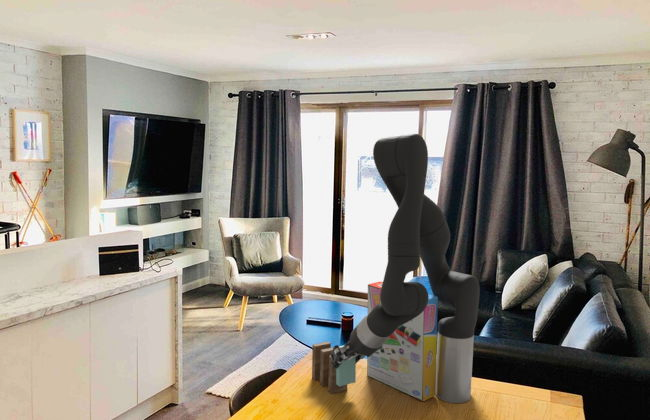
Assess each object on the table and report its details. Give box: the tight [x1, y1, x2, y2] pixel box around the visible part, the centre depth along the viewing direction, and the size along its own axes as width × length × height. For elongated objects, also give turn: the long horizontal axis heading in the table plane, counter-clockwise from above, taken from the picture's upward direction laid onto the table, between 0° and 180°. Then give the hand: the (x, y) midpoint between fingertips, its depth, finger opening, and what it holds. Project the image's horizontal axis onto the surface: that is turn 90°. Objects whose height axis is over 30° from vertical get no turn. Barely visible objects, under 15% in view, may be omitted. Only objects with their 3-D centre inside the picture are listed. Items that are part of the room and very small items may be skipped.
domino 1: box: [311, 341, 332, 382], centre depth 148 cm, size 2×5×10 cm, turn 121°
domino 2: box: [319, 346, 334, 388], centre depth 144 cm, size 2×5×10 cm, turn 120°
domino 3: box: [327, 355, 348, 395], centre depth 140 cm, size 2×5×10 cm, turn 121°
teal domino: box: [336, 344, 357, 386], centre depth 136 cm, size 2×5×10 cm, turn 122°
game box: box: [366, 281, 439, 402], centre depth 142 cm, size 21×6×27 cm, turn 41°
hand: (343, 363), depth 137 cm, fingers closed on teal domino, 5 cm apart
